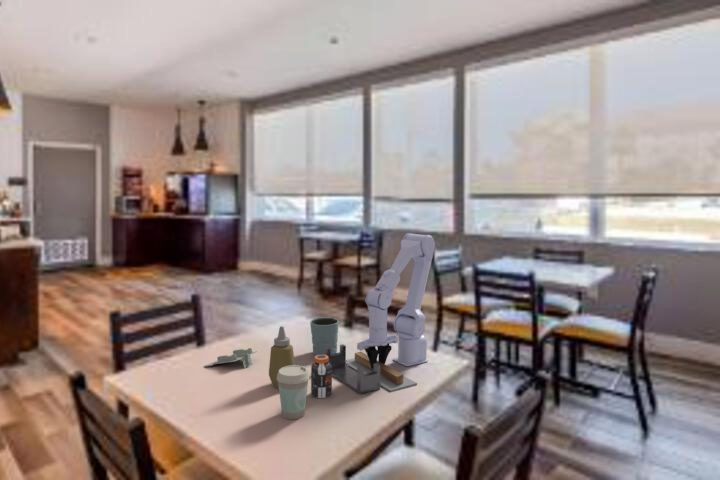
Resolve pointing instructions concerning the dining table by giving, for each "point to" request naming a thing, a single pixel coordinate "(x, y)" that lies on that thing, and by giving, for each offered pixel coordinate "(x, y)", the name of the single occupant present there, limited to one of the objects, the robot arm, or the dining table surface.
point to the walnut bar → (384, 369)
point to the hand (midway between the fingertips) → (377, 367)
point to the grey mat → (383, 381)
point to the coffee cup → (293, 390)
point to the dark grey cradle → (353, 373)
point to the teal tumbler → (324, 335)
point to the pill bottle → (321, 377)
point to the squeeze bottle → (280, 356)
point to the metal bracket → (235, 357)
